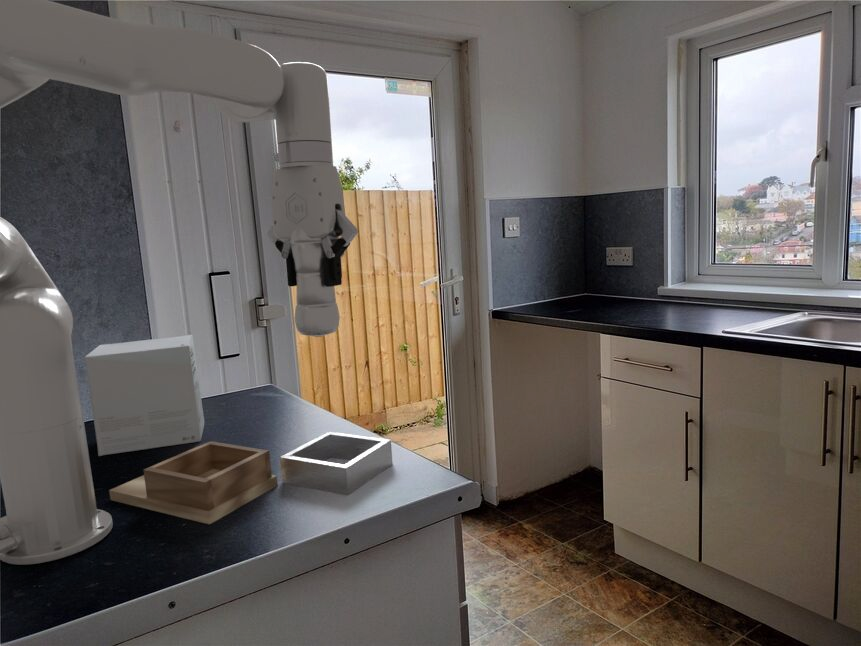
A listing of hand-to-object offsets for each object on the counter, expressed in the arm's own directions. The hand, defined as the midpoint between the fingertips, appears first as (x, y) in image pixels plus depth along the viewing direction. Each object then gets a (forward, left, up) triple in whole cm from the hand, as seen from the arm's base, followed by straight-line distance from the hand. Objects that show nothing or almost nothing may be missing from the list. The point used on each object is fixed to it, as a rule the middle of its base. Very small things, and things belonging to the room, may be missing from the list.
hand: (314, 284), depth 90 cm
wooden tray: (-13, +15, -29) cm, 35 cm away
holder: (+1, -1, -29) cm, 29 cm away
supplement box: (+2, +43, -29) cm, 52 cm away
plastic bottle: (0, 0, -8) cm, 8 cm away
